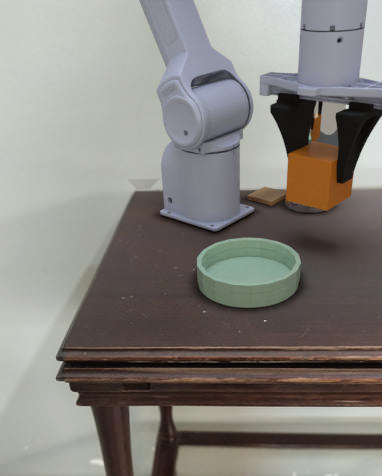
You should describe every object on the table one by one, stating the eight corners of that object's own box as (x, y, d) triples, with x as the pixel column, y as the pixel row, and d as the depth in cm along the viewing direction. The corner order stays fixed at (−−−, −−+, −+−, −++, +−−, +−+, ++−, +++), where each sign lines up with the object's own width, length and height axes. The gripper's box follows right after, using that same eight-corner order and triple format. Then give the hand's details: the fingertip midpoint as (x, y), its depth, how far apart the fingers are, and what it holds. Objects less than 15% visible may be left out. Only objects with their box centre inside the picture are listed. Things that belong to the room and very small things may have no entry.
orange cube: (285, 200, 61) (287, 153, 58) (310, 186, 64) (314, 141, 61) (326, 211, 58) (331, 162, 55) (351, 196, 61) (356, 149, 58)
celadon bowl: (176, 286, 58) (175, 264, 57) (239, 250, 64) (239, 229, 63) (258, 320, 52) (259, 296, 51) (318, 276, 58) (320, 254, 57)
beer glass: (330, 193, 77) (342, 71, 68) (340, 213, 71) (354, 84, 63) (278, 195, 77) (283, 74, 69) (284, 215, 71) (290, 87, 63)
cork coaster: (246, 199, 76) (247, 195, 76) (264, 190, 79) (264, 186, 78) (271, 206, 74) (271, 201, 74) (288, 196, 77) (289, 192, 76)
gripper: (241, 30, 54) (241, 173, 61) (387, 38, 45) (365, 202, 53) (284, 20, 58) (278, 155, 66) (424, 26, 50) (399, 180, 57)
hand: (320, 175), depth 60 cm, fingers closed on orange cube, 5 cm apart
